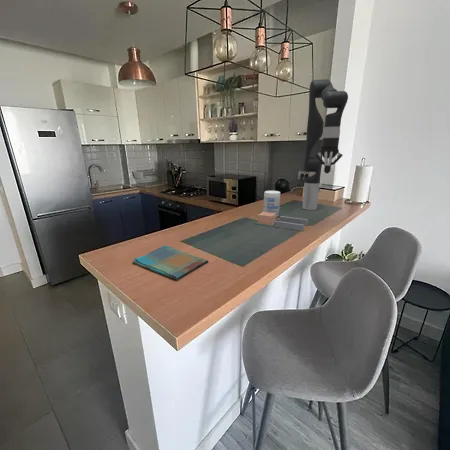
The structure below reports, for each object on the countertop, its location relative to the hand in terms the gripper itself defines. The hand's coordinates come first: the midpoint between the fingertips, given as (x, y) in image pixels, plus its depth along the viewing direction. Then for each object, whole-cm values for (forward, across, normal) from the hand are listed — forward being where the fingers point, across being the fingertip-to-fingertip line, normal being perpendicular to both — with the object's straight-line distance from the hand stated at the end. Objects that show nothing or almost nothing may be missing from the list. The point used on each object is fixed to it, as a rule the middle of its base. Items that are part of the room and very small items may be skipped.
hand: (326, 173), depth 126 cm
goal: (+27, +26, +11) cm, 39 cm away
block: (+27, +27, +11) cm, 40 cm away
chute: (+27, +14, +11) cm, 32 cm away
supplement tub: (+27, +29, -2) cm, 40 cm away
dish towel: (+28, +42, +74) cm, 90 cm away
